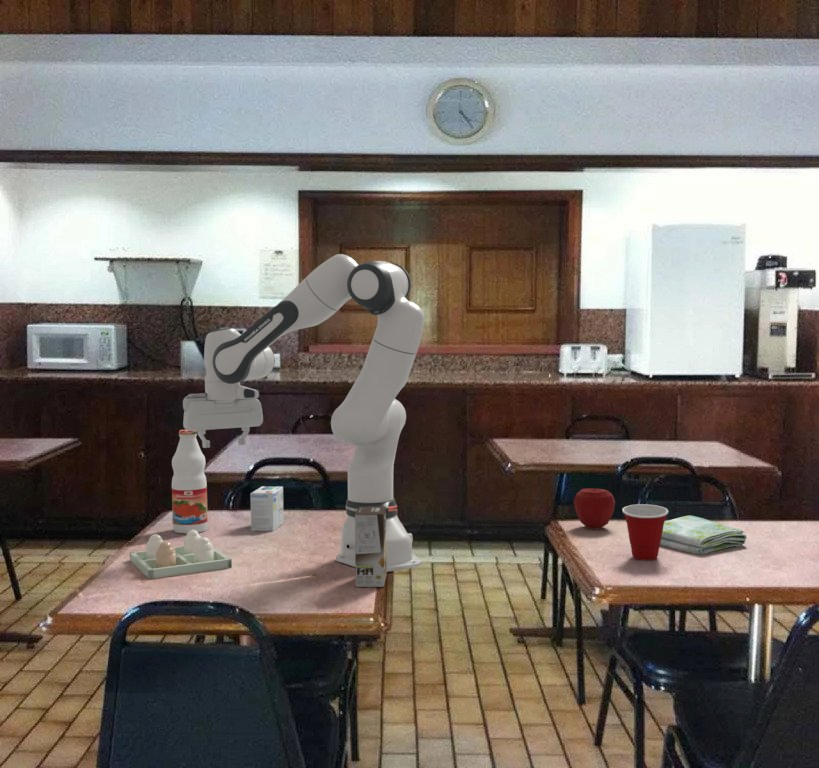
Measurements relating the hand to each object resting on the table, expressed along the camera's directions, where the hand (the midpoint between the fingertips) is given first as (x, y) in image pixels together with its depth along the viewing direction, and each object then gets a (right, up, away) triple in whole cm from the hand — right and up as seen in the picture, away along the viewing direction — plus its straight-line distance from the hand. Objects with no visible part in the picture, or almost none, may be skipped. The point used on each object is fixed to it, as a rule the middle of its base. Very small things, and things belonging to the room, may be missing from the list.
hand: (224, 446), depth 241 cm
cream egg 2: (-5, -26, -12) cm, 29 cm away
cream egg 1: (-13, -27, -17) cm, 34 cm away
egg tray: (-7, -27, -19) cm, 34 cm away
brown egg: (-9, -27, -25) cm, 37 cm away
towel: (+120, -25, +1) cm, 123 cm away
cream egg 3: (-1, -27, -20) cm, 34 cm away
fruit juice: (-13, -25, +20) cm, 35 cm away
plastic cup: (+104, -26, -14) cm, 108 cm away
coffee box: (+39, -28, -33) cm, 58 cm away
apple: (+98, -24, +19) cm, 103 cm away
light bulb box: (+8, -25, +24) cm, 35 cm away
